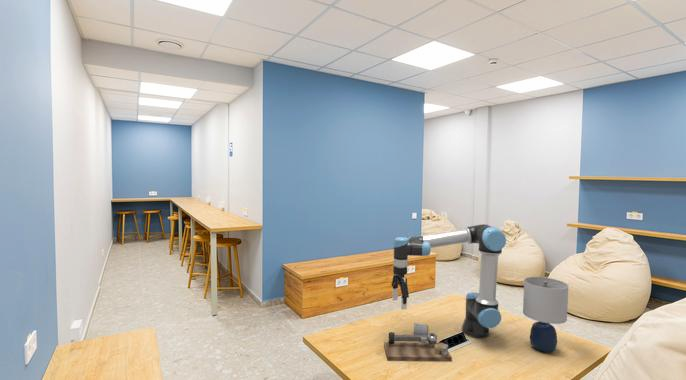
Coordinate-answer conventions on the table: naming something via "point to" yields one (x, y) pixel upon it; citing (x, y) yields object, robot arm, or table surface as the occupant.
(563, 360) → the table surface
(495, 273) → the robot arm
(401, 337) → the lever
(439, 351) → the tan wooden cylinder
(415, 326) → the ceramic mug
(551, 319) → the lamp
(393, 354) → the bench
